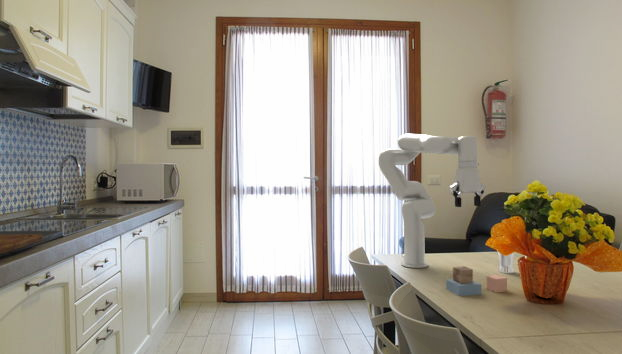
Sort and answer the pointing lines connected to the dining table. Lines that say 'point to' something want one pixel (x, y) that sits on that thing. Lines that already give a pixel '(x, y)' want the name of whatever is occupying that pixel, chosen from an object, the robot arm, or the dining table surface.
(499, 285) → the pink cube
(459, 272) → the walnut cube
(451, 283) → the base block
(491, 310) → the dining table surface
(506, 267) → the beer glass
